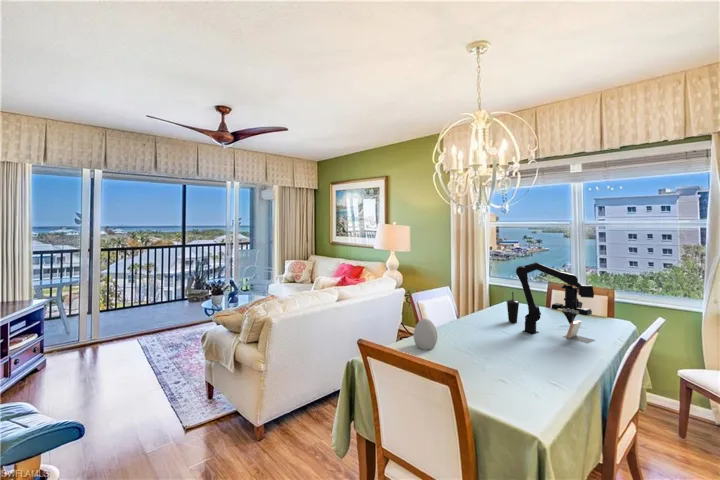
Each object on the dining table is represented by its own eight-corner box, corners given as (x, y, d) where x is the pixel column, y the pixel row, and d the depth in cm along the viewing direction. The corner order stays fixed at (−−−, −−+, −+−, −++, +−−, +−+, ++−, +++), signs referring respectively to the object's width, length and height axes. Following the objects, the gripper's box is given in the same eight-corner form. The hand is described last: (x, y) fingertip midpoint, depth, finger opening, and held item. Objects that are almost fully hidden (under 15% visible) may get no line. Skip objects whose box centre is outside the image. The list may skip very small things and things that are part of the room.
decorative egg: (442, 347, 173) (442, 318, 173) (427, 353, 165) (427, 323, 165) (423, 341, 183) (423, 314, 182) (408, 347, 174) (408, 318, 174)
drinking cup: (512, 324, 210) (512, 293, 210) (503, 321, 218) (503, 291, 217) (522, 323, 212) (522, 292, 212) (513, 320, 220) (513, 290, 219)
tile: (569, 338, 183) (574, 324, 180) (566, 336, 184) (571, 322, 182) (576, 335, 187) (581, 321, 184) (573, 334, 188) (578, 320, 186)
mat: (587, 344, 174) (587, 343, 174) (562, 337, 186) (562, 336, 186) (596, 340, 179) (596, 340, 179) (570, 334, 190) (570, 333, 190)
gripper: (596, 297, 181) (596, 325, 182) (561, 292, 197) (561, 318, 198) (586, 300, 176) (586, 329, 176) (550, 294, 191) (550, 321, 192)
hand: (570, 324), depth 186 cm, fingers closed
